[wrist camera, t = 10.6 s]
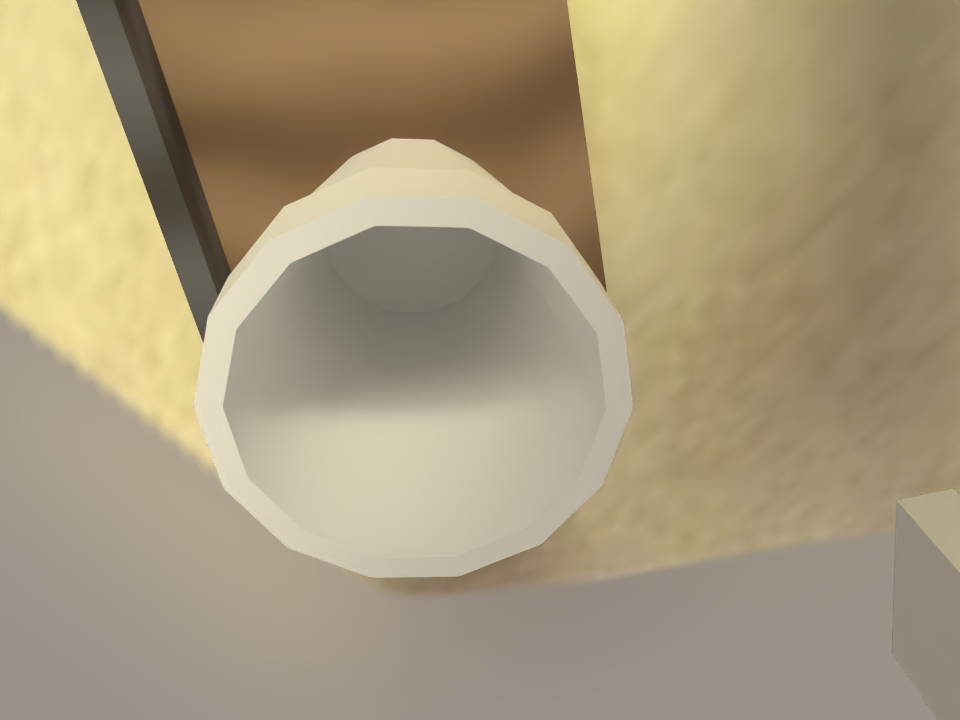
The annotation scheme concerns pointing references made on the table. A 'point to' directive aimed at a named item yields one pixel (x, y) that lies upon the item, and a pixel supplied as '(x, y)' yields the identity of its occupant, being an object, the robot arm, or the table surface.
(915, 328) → the table surface
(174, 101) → the shelf board
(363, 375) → the foam cup
